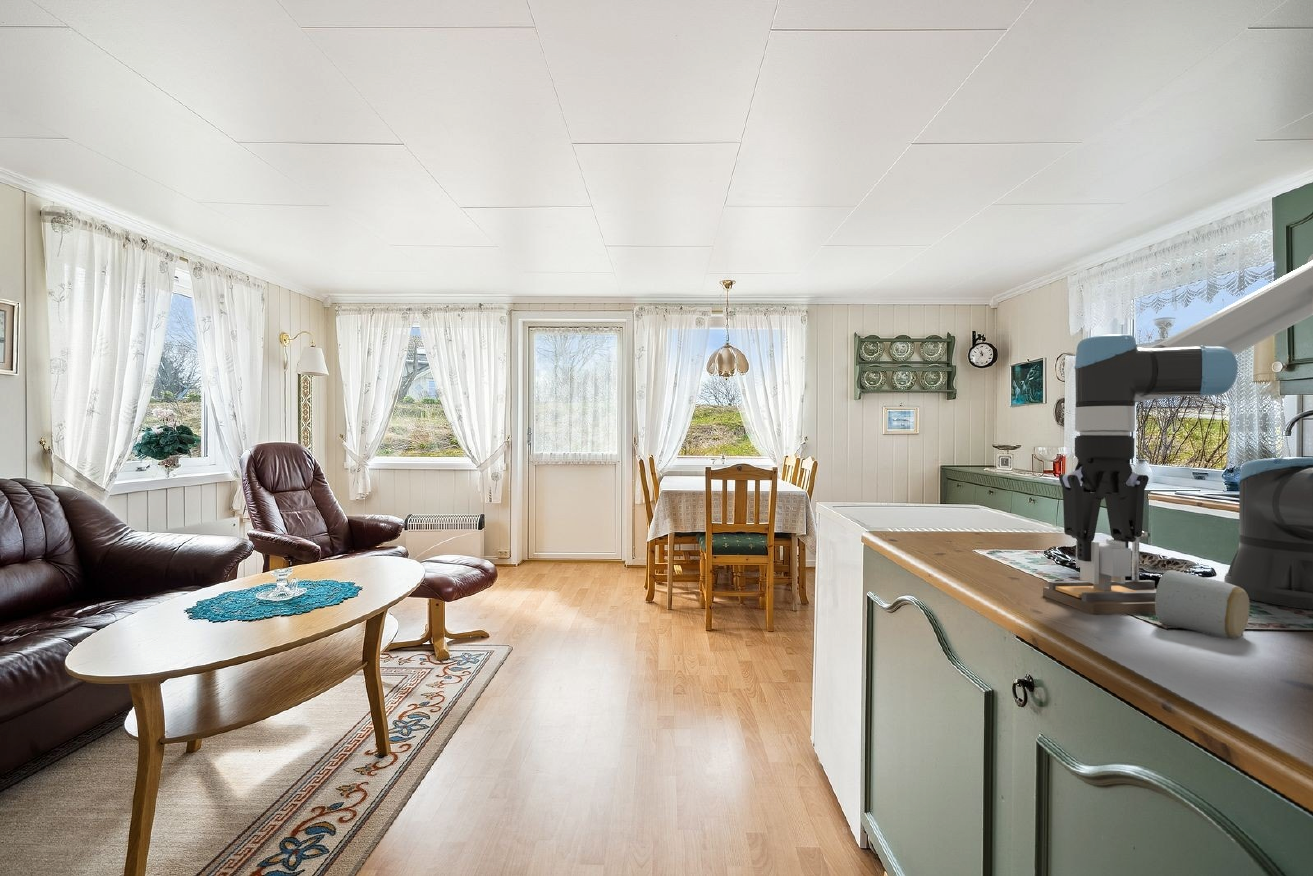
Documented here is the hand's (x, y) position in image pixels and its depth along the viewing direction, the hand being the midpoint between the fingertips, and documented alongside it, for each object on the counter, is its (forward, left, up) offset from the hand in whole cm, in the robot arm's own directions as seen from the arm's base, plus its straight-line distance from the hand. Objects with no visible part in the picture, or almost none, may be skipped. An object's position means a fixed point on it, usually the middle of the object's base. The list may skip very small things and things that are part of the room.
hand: (1102, 581), depth 92 cm
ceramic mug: (-4, +12, -4) cm, 13 cm away
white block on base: (0, 0, -2) cm, 2 cm away
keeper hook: (-10, -4, -2) cm, 11 cm away
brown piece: (-3, 0, -4) cm, 5 cm away
